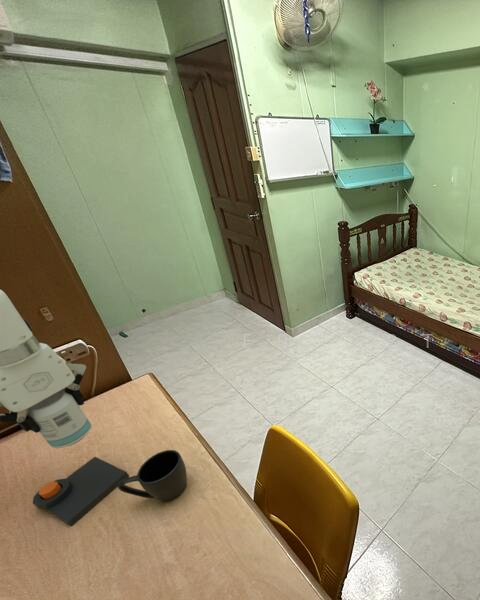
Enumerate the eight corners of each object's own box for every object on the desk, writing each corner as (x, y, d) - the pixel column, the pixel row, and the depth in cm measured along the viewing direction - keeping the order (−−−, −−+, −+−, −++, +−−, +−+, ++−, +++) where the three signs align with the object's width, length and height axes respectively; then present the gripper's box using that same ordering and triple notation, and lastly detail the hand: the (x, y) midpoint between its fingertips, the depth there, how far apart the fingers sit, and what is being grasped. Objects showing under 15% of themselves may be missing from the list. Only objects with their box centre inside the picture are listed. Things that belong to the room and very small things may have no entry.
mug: (137, 488, 76) (121, 464, 71) (194, 468, 80) (182, 444, 76) (128, 522, 69) (110, 497, 65) (191, 498, 74) (177, 474, 69)
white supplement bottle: (96, 420, 75) (72, 383, 69) (90, 442, 70) (63, 403, 64) (57, 432, 72) (28, 395, 66) (47, 456, 67) (15, 417, 61)
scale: (35, 507, 71) (26, 499, 70) (97, 460, 82) (90, 451, 80) (69, 528, 68) (61, 520, 66) (129, 476, 78) (123, 467, 76)
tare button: (39, 496, 71) (35, 491, 70) (56, 483, 73) (52, 479, 72) (47, 501, 70) (43, 496, 69) (64, 488, 72) (60, 483, 71)
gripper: (-51, 387, 50) (13, 456, 59) (77, 330, 65) (113, 392, 73) (-75, 375, 53) (-10, 444, 61) (54, 323, 67) (92, 384, 76)
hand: (57, 415), depth 67 cm, fingers closed on white supplement bottle, 7 cm apart
